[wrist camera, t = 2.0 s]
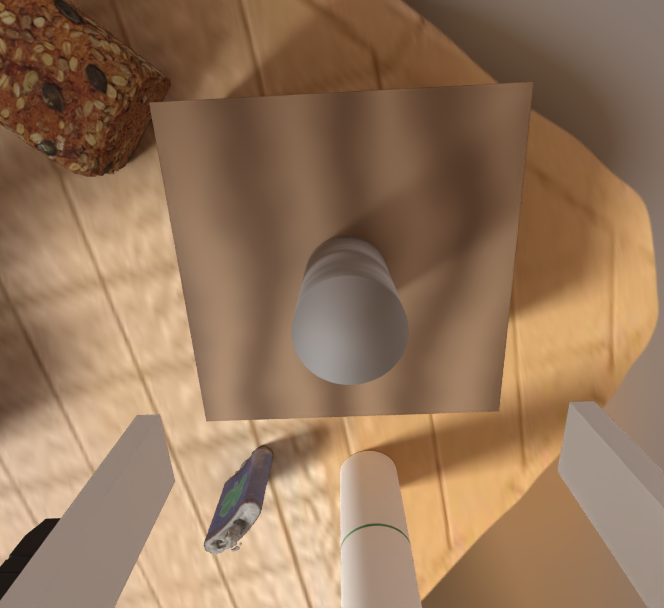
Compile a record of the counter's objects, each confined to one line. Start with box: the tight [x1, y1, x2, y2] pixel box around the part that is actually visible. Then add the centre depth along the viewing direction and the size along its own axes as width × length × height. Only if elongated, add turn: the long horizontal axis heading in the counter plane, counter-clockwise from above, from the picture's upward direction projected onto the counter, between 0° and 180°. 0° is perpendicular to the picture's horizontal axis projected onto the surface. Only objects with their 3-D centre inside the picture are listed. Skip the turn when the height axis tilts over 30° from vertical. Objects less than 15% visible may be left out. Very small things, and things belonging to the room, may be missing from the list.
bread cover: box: [149, 82, 533, 421], centre depth 33 cm, size 24×24×23 cm
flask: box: [204, 446, 273, 554], centre depth 49 cm, size 9×3×11 cm, turn 141°
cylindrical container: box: [340, 451, 422, 608], centre depth 42 cm, size 7×7×25 cm
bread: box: [0, 0, 170, 177], centre depth 34 cm, size 19×11×10 cm, turn 52°
